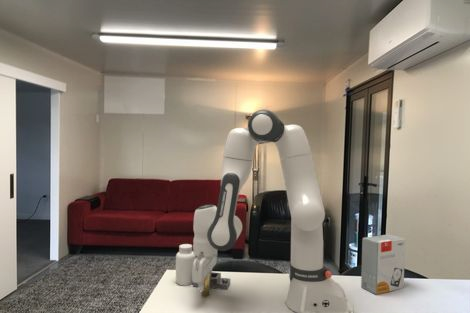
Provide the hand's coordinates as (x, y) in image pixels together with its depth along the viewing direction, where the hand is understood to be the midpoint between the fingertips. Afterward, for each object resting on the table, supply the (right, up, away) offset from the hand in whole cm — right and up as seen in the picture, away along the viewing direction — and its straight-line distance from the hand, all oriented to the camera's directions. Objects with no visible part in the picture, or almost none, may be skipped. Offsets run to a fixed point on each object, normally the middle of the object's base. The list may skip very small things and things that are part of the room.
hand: (205, 285), depth 117 cm
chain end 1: (0, -4, +9) cm, 10 cm away
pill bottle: (-9, -4, +12) cm, 16 cm away
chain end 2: (+4, -4, +8) cm, 10 cm away
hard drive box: (+70, -4, +7) cm, 70 cm away
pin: (0, -4, 0) cm, 4 cm away
